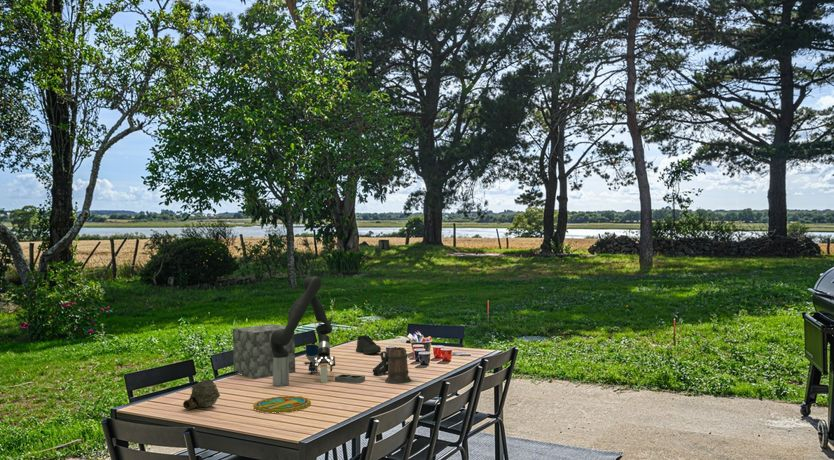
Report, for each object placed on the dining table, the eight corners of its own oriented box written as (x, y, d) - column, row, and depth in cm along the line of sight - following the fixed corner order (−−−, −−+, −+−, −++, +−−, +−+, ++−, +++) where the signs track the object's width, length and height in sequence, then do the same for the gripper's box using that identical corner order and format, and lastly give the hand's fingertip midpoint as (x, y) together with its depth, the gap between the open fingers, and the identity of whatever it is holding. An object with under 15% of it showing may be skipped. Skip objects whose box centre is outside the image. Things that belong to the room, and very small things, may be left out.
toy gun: (403, 365, 440) (392, 348, 436) (407, 366, 436) (396, 348, 431) (380, 386, 430) (369, 369, 426) (384, 388, 426) (373, 370, 421)
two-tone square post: (327, 382, 408) (326, 364, 408) (320, 382, 407) (320, 364, 407) (327, 381, 412) (327, 363, 412) (321, 381, 411) (320, 363, 411)
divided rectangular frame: (358, 383, 403) (358, 378, 403) (334, 381, 410) (334, 376, 410) (365, 380, 410) (364, 375, 410) (341, 379, 417) (341, 374, 417)
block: (254, 379, 424) (253, 332, 424) (233, 373, 446) (232, 328, 447) (295, 372, 444) (294, 327, 444) (273, 366, 466) (272, 324, 466)
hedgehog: (216, 373, 360) (192, 373, 348) (224, 395, 352) (200, 396, 340) (199, 393, 366) (174, 394, 355) (206, 415, 359) (182, 417, 347)
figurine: (323, 371, 442) (323, 341, 442) (320, 374, 432) (319, 344, 432) (305, 371, 443) (304, 342, 443) (301, 374, 433) (300, 344, 434)
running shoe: (372, 356, 494) (372, 338, 495) (350, 351, 518) (350, 334, 518) (384, 354, 502) (384, 336, 502) (362, 350, 525) (362, 333, 525)
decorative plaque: (277, 412, 331) (241, 403, 350) (277, 417, 331) (241, 408, 350) (322, 399, 354) (286, 392, 373) (322, 404, 354) (286, 397, 373)
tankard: (416, 379, 410) (416, 347, 410) (402, 384, 396) (402, 351, 396) (385, 376, 422) (384, 345, 422) (370, 381, 407) (369, 349, 407)
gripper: (312, 347, 417) (312, 368, 406) (335, 345, 419) (335, 367, 407) (313, 353, 423) (312, 375, 411) (335, 352, 424) (335, 374, 413)
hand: (323, 371), depth 409 cm, fingers open, 8 cm apart
